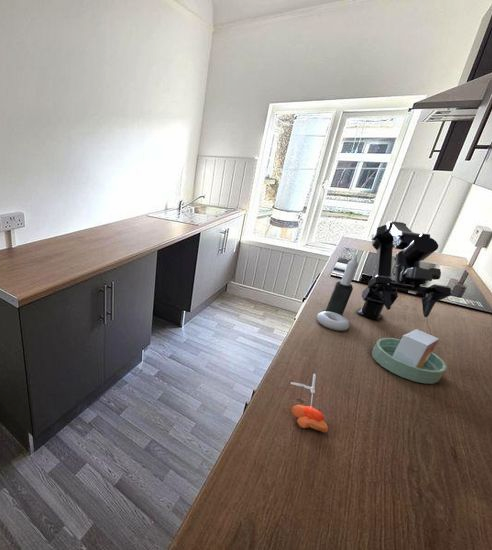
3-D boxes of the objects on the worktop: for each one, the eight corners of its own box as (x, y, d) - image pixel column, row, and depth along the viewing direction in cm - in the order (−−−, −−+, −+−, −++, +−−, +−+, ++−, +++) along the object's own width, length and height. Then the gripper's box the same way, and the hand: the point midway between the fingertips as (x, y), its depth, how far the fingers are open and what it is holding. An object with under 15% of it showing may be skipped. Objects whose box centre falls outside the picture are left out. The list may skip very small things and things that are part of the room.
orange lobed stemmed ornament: (288, 400, 73) (302, 362, 69) (331, 427, 67) (349, 387, 62) (277, 412, 70) (290, 373, 65) (320, 442, 63) (339, 400, 58)
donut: (315, 315, 114) (316, 326, 106) (317, 307, 112) (319, 318, 104) (345, 322, 110) (349, 335, 101) (349, 314, 108) (353, 327, 100)
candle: (340, 320, 111) (366, 257, 101) (325, 315, 113) (348, 254, 103) (340, 314, 115) (364, 254, 105) (325, 310, 117) (347, 251, 107)
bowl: (379, 343, 98) (385, 332, 96) (443, 370, 87) (450, 358, 85) (364, 360, 89) (370, 348, 88) (433, 393, 78) (441, 380, 77)
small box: (411, 376, 83) (428, 345, 79) (387, 363, 88) (403, 334, 84) (423, 368, 87) (440, 338, 83) (400, 356, 91) (415, 328, 87)
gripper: (385, 251, 91) (384, 297, 86) (464, 262, 85) (468, 313, 80) (368, 266, 101) (365, 308, 96) (437, 277, 95) (439, 323, 90)
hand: (407, 313), depth 90 cm, fingers open, 9 cm apart
